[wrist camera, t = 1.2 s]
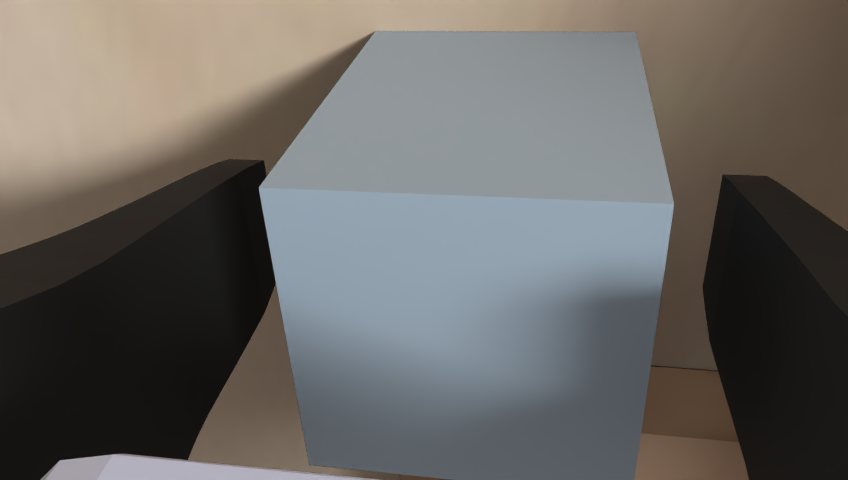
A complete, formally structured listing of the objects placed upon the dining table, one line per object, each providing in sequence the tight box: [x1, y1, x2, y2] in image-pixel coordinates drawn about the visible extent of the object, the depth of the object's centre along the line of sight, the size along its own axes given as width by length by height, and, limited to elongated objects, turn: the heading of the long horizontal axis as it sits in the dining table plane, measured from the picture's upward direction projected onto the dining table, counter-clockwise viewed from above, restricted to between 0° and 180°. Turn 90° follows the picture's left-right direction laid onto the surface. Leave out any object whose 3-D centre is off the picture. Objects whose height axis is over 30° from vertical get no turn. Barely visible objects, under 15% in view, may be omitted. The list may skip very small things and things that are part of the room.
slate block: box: [259, 31, 674, 480], centre depth 12 cm, size 4×4×6 cm
